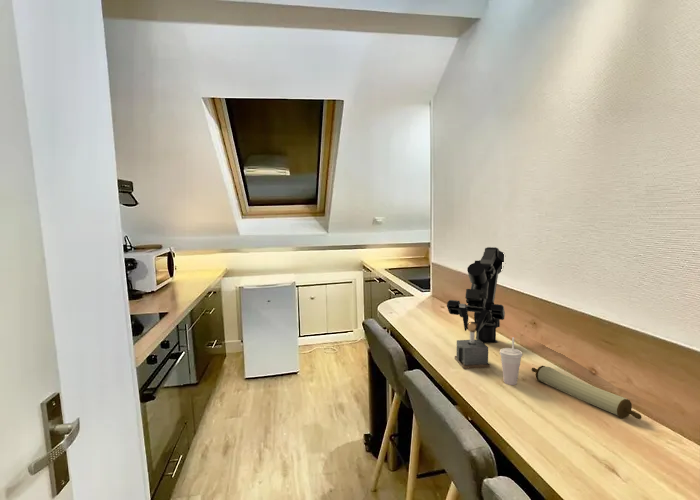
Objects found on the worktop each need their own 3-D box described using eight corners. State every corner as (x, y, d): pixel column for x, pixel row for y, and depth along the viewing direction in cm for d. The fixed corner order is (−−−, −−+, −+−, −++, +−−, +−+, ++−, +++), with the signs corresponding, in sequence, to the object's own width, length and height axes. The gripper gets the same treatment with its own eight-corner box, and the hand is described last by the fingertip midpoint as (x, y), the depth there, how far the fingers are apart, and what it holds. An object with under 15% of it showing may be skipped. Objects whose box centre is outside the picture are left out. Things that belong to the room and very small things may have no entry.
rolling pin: (525, 378, 126) (525, 362, 125) (538, 374, 128) (538, 359, 127) (633, 429, 96) (634, 409, 96) (648, 423, 99) (649, 403, 98)
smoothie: (523, 387, 119) (525, 341, 117) (500, 386, 120) (501, 340, 118) (519, 378, 125) (520, 334, 123) (497, 377, 126) (498, 333, 125)
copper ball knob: (477, 345, 140) (477, 319, 139) (483, 351, 135) (484, 323, 134) (460, 346, 140) (461, 319, 139) (466, 352, 134) (466, 324, 133)
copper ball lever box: (479, 357, 143) (480, 338, 142) (490, 367, 134) (490, 347, 133) (453, 358, 142) (453, 339, 141) (462, 368, 133) (462, 348, 132)
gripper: (448, 277, 143) (438, 315, 134) (504, 281, 134) (497, 322, 125) (454, 294, 151) (445, 332, 142) (507, 299, 142) (501, 339, 133)
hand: (471, 331), depth 135 cm, fingers closed on copper ball knob, 4 cm apart
